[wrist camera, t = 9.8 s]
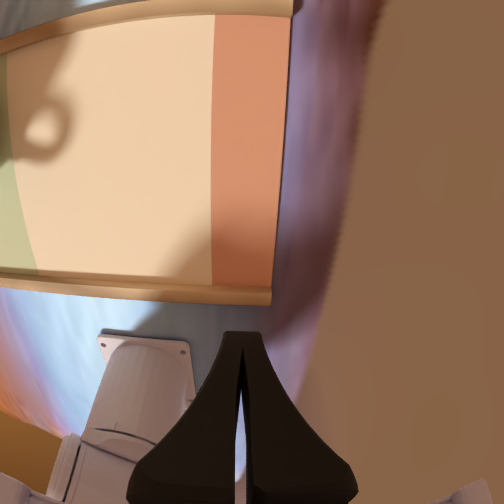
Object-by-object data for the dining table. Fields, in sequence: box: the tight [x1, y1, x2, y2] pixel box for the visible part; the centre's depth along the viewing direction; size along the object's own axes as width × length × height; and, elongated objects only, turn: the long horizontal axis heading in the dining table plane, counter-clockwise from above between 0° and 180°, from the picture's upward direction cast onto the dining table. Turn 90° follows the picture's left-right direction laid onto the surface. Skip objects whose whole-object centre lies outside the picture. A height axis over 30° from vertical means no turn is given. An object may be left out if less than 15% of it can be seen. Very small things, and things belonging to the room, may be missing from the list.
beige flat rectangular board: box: [0, 0, 293, 306], centre depth 17 cm, size 19×33×1 cm, turn 88°
